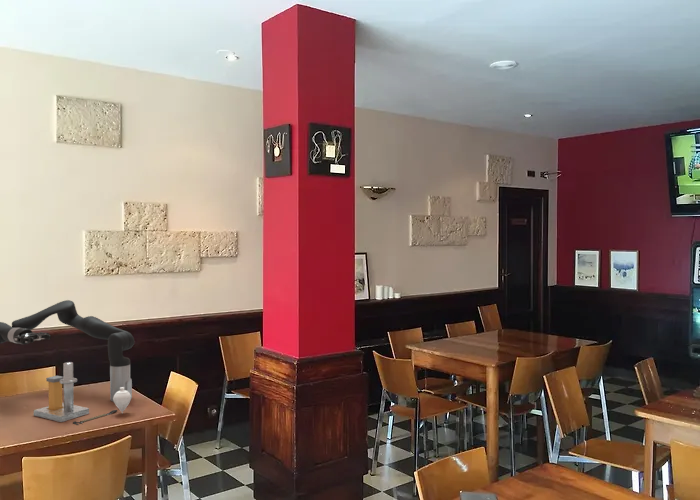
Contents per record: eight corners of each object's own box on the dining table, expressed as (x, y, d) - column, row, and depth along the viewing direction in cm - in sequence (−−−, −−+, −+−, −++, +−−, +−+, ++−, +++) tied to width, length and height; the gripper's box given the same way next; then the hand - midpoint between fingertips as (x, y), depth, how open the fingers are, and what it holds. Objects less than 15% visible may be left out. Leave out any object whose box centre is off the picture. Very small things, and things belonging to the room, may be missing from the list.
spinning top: (126, 410, 273) (126, 384, 273) (134, 413, 268) (134, 387, 268) (110, 413, 268) (110, 387, 268) (117, 417, 263) (117, 390, 262)
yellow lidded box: (46, 414, 267) (46, 377, 267) (57, 411, 272) (56, 375, 271) (53, 415, 265) (53, 379, 264) (64, 412, 269) (64, 376, 269)
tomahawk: (80, 428, 250) (80, 426, 250) (71, 424, 254) (71, 422, 254) (123, 415, 268) (124, 412, 268) (115, 411, 272) (115, 409, 271)
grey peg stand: (33, 415, 264) (33, 362, 264) (61, 407, 277) (61, 356, 276) (61, 422, 255) (60, 367, 255) (89, 413, 268) (88, 361, 267)
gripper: (5, 330, 279) (27, 333, 272) (34, 325, 292) (55, 328, 284) (5, 345, 279) (27, 349, 272) (34, 341, 292) (55, 344, 284)
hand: (41, 338), depth 278 cm, fingers open, 8 cm apart
